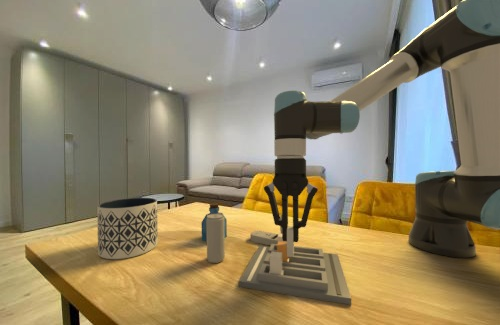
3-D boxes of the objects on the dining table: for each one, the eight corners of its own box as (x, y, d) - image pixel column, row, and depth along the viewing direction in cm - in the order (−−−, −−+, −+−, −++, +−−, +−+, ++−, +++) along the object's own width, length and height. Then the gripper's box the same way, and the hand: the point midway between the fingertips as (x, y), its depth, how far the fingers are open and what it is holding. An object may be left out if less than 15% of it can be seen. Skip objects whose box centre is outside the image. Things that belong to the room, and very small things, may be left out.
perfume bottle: (201, 240, 71) (201, 205, 71) (211, 234, 77) (211, 201, 77) (217, 243, 69) (217, 206, 69) (226, 236, 74) (226, 203, 74)
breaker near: (283, 274, 47) (283, 252, 47) (282, 280, 45) (282, 257, 45) (270, 272, 48) (270, 251, 48) (268, 278, 46) (268, 255, 46)
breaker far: (288, 252, 59) (288, 234, 59) (287, 255, 56) (287, 237, 56) (277, 250, 59) (277, 233, 59) (276, 254, 57) (276, 236, 57)
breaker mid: (289, 262, 53) (289, 242, 53) (288, 267, 50) (288, 246, 50) (277, 261, 53) (277, 241, 53) (275, 265, 51) (275, 245, 51)
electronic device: (255, 209, 75) (294, 214, 66) (256, 237, 75) (295, 245, 66) (246, 212, 71) (287, 218, 62) (247, 241, 71) (288, 251, 62)
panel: (337, 258, 57) (337, 248, 57) (351, 304, 39) (351, 290, 39) (259, 249, 63) (259, 240, 63) (238, 286, 45) (238, 274, 45)
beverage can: (209, 265, 54) (209, 219, 54) (204, 258, 58) (204, 214, 58) (227, 261, 56) (227, 216, 56) (221, 254, 61) (220, 212, 60)
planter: (166, 247, 65) (165, 201, 65) (106, 267, 54) (105, 211, 54) (146, 235, 76) (145, 196, 76) (92, 249, 65) (91, 202, 65)
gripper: (317, 157, 53) (317, 250, 53) (266, 158, 56) (267, 245, 57) (319, 157, 46) (319, 265, 46) (260, 157, 49) (261, 258, 49)
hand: (290, 254), depth 51 cm, fingers closed
